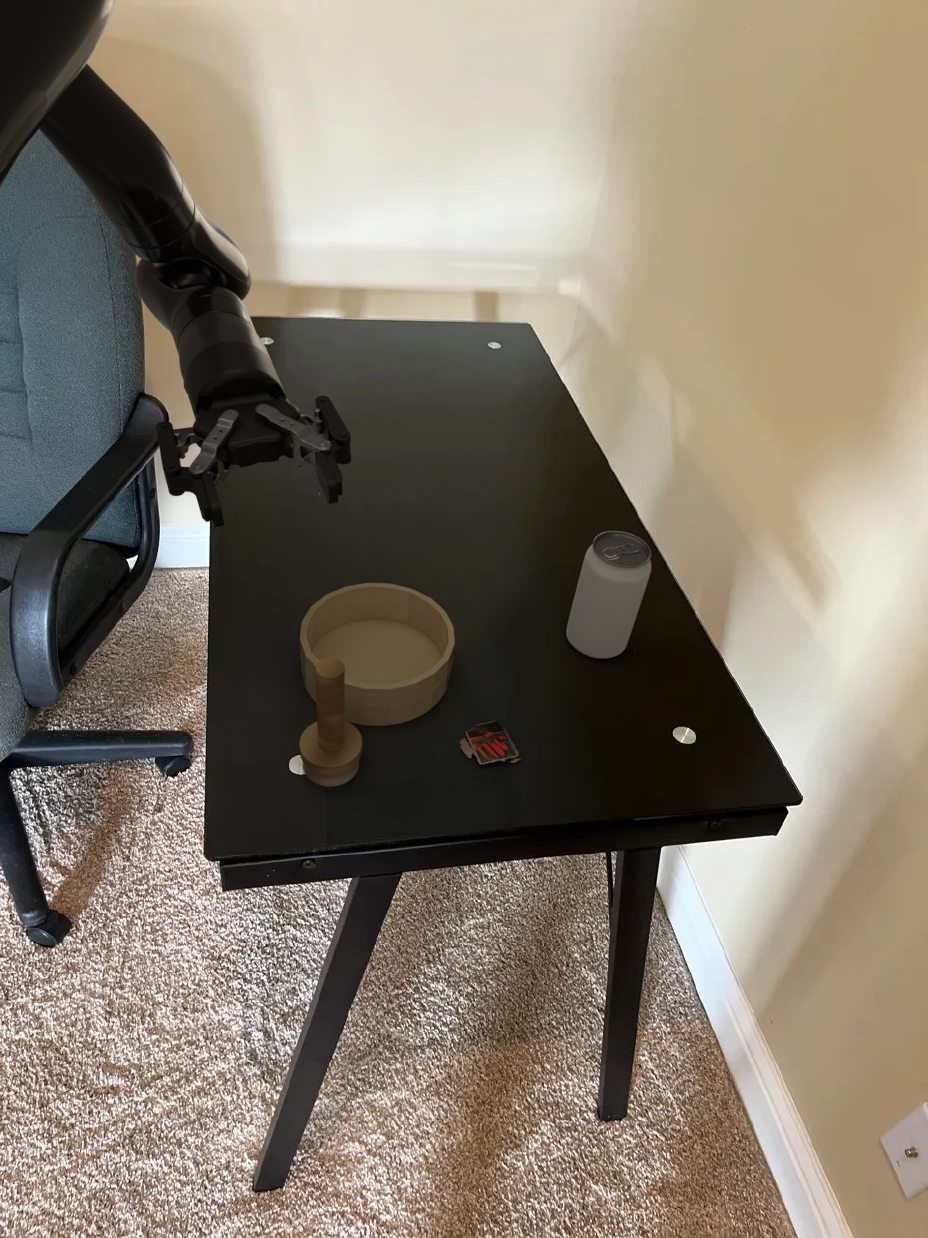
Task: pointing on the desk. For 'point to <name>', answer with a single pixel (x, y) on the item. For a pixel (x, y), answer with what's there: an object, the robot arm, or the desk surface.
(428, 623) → the bowl
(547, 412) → the desk surface
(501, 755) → the small printed card
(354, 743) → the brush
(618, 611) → the can
